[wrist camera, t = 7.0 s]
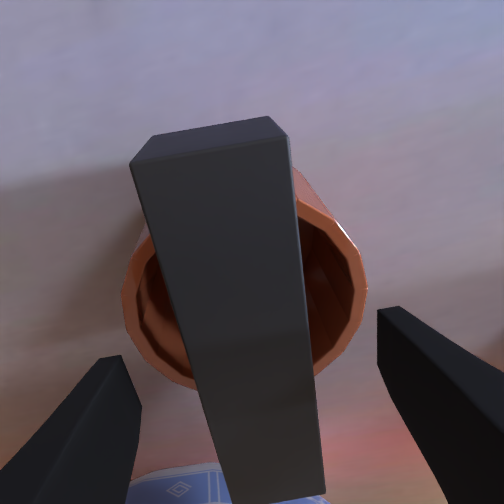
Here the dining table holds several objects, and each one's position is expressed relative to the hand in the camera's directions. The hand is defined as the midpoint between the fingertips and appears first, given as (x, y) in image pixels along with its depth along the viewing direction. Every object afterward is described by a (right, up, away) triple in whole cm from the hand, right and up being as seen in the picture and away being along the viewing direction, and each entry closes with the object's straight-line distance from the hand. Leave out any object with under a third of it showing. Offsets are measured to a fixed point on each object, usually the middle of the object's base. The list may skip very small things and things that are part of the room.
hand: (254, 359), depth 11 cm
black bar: (0, +1, +2) cm, 2 cm away
